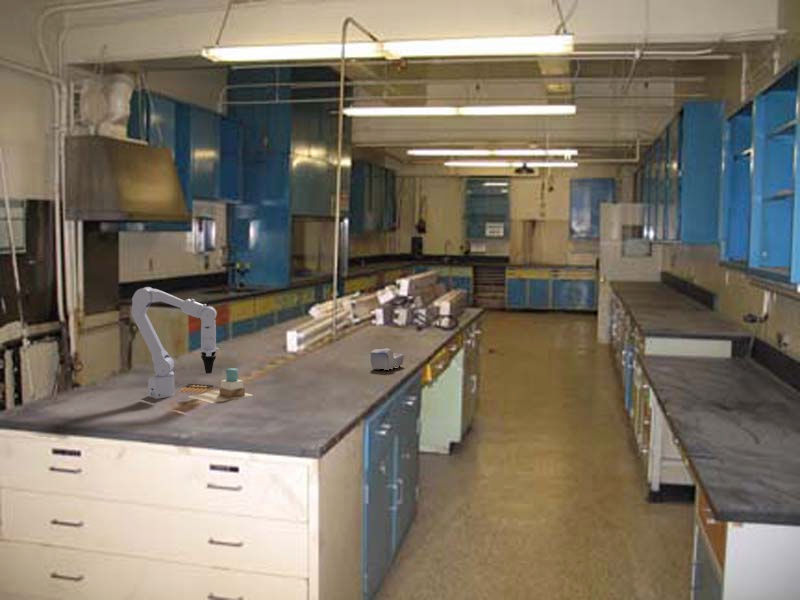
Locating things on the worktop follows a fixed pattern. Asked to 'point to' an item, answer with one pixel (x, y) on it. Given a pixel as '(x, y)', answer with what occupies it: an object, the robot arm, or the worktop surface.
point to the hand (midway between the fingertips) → (208, 371)
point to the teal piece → (231, 374)
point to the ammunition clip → (196, 388)
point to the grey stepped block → (385, 359)
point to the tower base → (232, 392)
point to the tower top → (231, 385)
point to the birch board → (214, 397)
